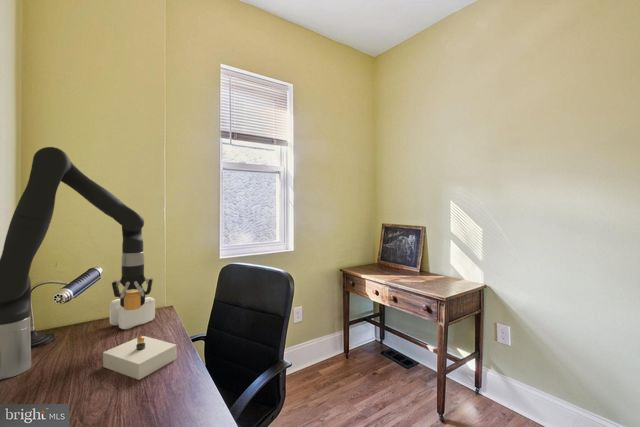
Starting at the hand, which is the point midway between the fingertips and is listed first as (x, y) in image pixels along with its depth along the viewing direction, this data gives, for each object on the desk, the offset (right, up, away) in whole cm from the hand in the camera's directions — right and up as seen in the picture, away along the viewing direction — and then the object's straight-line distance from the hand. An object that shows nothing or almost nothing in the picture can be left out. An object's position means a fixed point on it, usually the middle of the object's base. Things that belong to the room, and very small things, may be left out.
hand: (133, 305), depth 117 cm
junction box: (+12, -15, -14) cm, 24 cm away
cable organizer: (-12, -14, +19) cm, 26 cm away
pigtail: (+12, -10, -15) cm, 22 cm away
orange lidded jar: (0, -1, 0) cm, 1 cm away
